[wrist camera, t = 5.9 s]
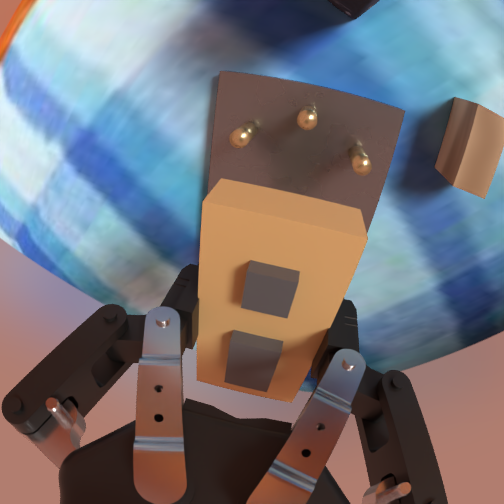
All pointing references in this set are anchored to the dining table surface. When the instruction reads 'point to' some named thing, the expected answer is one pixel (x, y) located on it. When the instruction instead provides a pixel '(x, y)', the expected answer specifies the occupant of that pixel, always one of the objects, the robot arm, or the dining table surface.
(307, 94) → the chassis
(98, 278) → the dining table surface
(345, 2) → the small box
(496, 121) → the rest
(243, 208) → the board
